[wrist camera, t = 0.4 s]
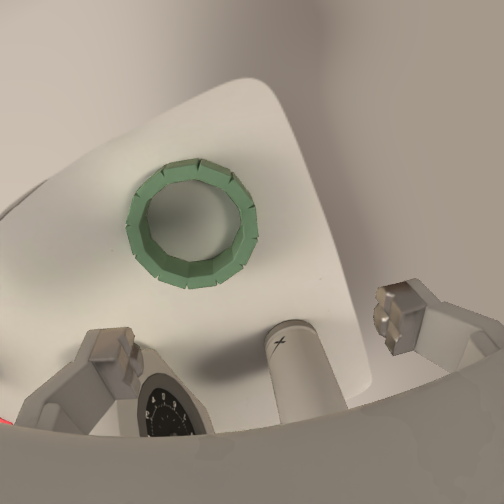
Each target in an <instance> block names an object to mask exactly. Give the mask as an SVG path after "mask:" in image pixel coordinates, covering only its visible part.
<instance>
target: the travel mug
mask: <svg viewBox="0 0 504 504" xmlns="http://www.w3.org/2000/svg"><path fill="white" fill-rule="evenodd" d="M264 347H265V352H266V356H267V361H268V366H269V371H270V375H271V380H272V385H273V389H274V394H275V399H276V403H277V408H278V413H279V417H280V422H281V424H286V423H291V422H297V421H301V420H306V419H311V418H315V417H320V416H324V415H328V414H332V413H336V412H340V411H344V410H348V407H347V405H346V402H345V400H344V397H343V395H342V392H341V390H340V387H339V385H338V382H337V380H336V378H335V375H334V373H333V370H332V368H331V365H330V363H329V361H328V358H327V356H326V353H325V351H324V349H323V346H322V344H321V342H320V339H319V337H318V334H317V332H316V330H315V328H314V327H313V326H312V325H311V324H309V323H307V322H304V321H300V320H291V321H286V322H283V323H281V324H279V325H277V326H275V327H274V328H273V329H272V330H271V331H270V332H269V333H268V334H267V336H266V338H265V341H264Z"/></svg>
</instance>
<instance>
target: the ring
mask: <svg viewBox="0 0 504 504" xmlns="http://www.w3.org/2000/svg"><path fill="white" fill-rule="evenodd" d="M195 179H197V180H200V181H203V182H205V183H208V184H211V185H213V186H216V187H219V188H221V189H224V191H225V192H226V193H227V194H228V196H229V197H230V198H231V199H232V201H233V202H234V203H235V204H236V206H237V207H238V208H239V210H240V218H241V226H240V228H239V231H238V233H237V235H236V237H235V240H234V242H233V244H232V246H231V247H229V248H228V249H226V250H225V251H224V252H222V253H221V254H219V255H218V256H217V257H215V258H214V259H211V260H204V261H197V262H187V261H184V260H181V259H178V258H175V257H172V256H169V255H167V254H166V253H165V252H164V251H163V250H162V249H161V248H160V247H159V245H158V244H157V243H156V242H155V241H154V240H153V239H152V238H151V234H150V230H149V226H148V221H147V217H146V214H147V211H148V207H149V204H150V201H151V198H152V197H153V196H154V195H155V194H157V193H158V192H159V191H160V190H161V189H163V188H164V187H165V186H166V185H167V184H170V183H176V182H182V181H188V180H195ZM126 224H127V226H126V231H127V235H128V239H129V242H130V246H131V250H132V253H133V255H136V257H135V259H136V260H137V261H138V262H139V263H140V264H141V265H142V266H143V267H144V268H145V269H146V270H147V271H148V272H149V273H150V274H151V275H152V276H153V277H154V278H156V277H157V276H158V275H159V277H158V280H159V281H162V282H165V283H168V284H171V285H174V286H177V287H180V288H183V289H185V288H186V286H188V289H196V288H203V287H211V286H216V285H217V282H218V283H219V284H221V283H223V282H224V281H226V280H227V279H229V278H230V277H232V276H233V275H234V274H236V273H237V272H239V271H240V270H242V269H243V265H246V264H247V262H248V260H249V258H250V255H251V253H252V251H253V249H254V247H255V245H256V243H257V241H258V239H257V237H259V235H258V225H257V216H256V207H255V205H254V202H253V200H252V197H251V195H250V193H249V192H248V190H247V189H246V188H245V187H244V185H243V184H242V183H241V181H240V180H239V179H238V178H237V176H236V175H235V174H234V172H231V173H230V169H228V168H225V167H222V166H220V165H217V164H215V163H212V162H210V161H207V160H204V159H201V162H200V164H199V159H198V158H197V159H190V160H184V161H178V162H172V163H169V164H168V165H167V166H166V165H164V166H163V167H162V168H161V169H160V170H159V171H157V172H156V173H155V174H154V175H153V176H151V177H150V178H149V179H148V180H147V181H146V182H145V183H144V184H143V185H142V186H141V187H140V188H139V189H138V190H137V191H136V194H135V195H134V197H133V200H132V203H131V206H130V210H129V213H128V217H127V220H126Z"/></svg>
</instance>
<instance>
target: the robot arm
mask: <svg viewBox="0 0 504 504" xmlns="http://www.w3.org/2000/svg"><path fill="white" fill-rule="evenodd" d="M375 298H376V300H377V301H378V302H379V303H378V304H377V306H376V307H375V308H374V315H373V318H374V325H375V327H376V330H377V332H378V333H379V335H381V336H383V337H385V338H386V340H385V344H386V346H387V347H388V349H389V351H390V352H391V354H392V355H393V356H396V355H399V354H403V353H406V352H410V351H413V350H415V352H417V353H418V354H420V355H421V356H423V357H425V358H426V359H428V360H430V361H431V362H433V363H435V364H436V365H438V366H440V367H441V368H443V369H445V370H446V371H448V372H450V373H451V374H449V375H446V376H444V377H442V378H439V379H437V380H434V381H432V382H429V383H427V384H424V385H422V386H419V387H416V388H414V389H411V390H408V391H405V392H403V393H400V394H397V395H394V396H391V397H388V398H385V399H382V400H378V401H375V402H372V403H369V404H365V405H362V406H358V407H355V408H351V409H348V410H344V411H340V412H336V413H332V414H328V415H324V416H320V417H315V418H311V419H306V420H301V421H297V422H291V423H286V424H281V425H275V426H269V427H263V428H256V429H249V430H242V431H234V432H225V433H215V434H204V435H190V436H171V437H114V436H95V435H89V433H90V432H91V431H92V430H93V428H94V427H95V426H96V425H97V423H98V422H99V421H100V420H101V418H102V417H103V416H104V415H105V413H106V412H107V411H108V410H109V408H110V407H111V406H112V405H113V403H114V402H115V400H123V399H138V396H139V391H140V386H141V383H140V381H139V379H138V378H139V377H140V376H141V375H142V374H143V369H144V359H143V355H142V351H141V349H140V347H139V346H138V345H137V344H135V343H134V338H135V335H134V333H133V331H132V329H131V328H129V327H121V328H107V329H94V330H89V331H87V333H86V335H85V338H84V340H83V342H82V344H81V347H80V349H79V351H78V354H77V356H76V358H75V361H74V362H70V363H69V364H67V365H66V366H65V367H64V368H62V369H61V370H60V371H59V372H57V373H56V374H55V375H54V376H53V377H51V378H50V379H49V380H48V381H47V382H45V383H44V384H43V385H42V386H40V387H39V388H38V389H37V390H36V391H34V392H33V393H32V394H31V395H30V396H28V397H27V398H26V399H25V400H24V403H23V405H22V407H21V410H20V412H19V415H18V417H17V419H16V422H15V424H14V425H11V424H6V423H2V422H0V504H504V326H503V325H502V324H501V323H500V322H499V321H497V320H494V319H491V318H488V317H486V316H483V315H481V314H478V313H475V312H473V311H470V310H467V309H464V308H461V307H459V306H456V305H453V304H450V303H448V302H440V300H439V299H438V298H437V297H436V296H435V295H434V294H433V293H432V292H431V291H430V290H429V289H428V288H427V287H426V286H425V285H424V284H423V283H422V282H421V281H420V280H419V279H416V278H414V279H410V280H407V281H403V282H401V283H396V284H392V285H388V286H383V287H379V288H378V289H377V291H376V297H375Z"/></svg>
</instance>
